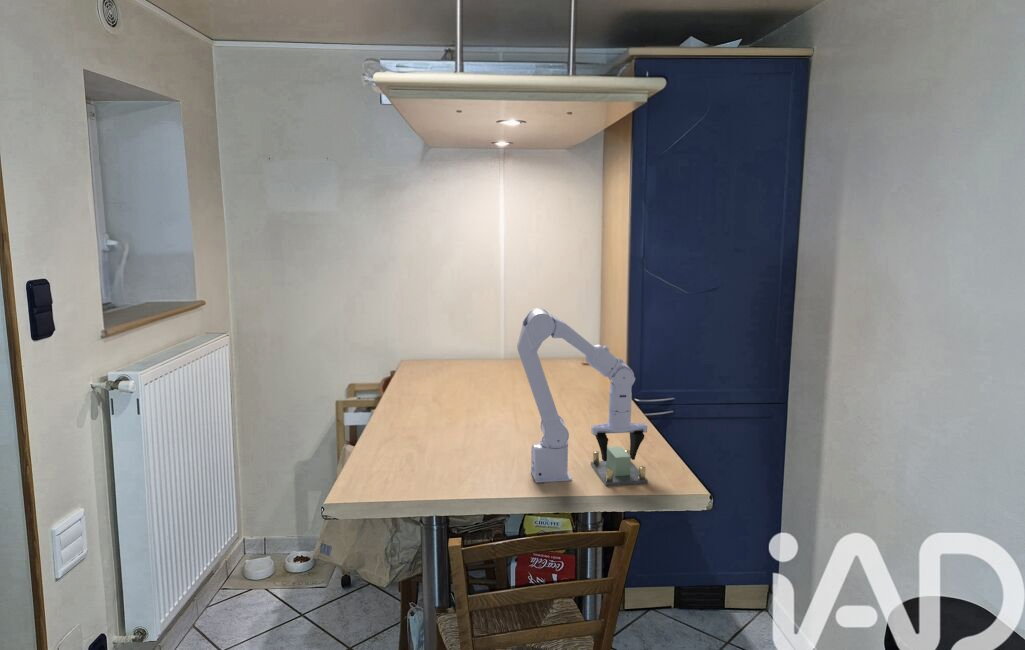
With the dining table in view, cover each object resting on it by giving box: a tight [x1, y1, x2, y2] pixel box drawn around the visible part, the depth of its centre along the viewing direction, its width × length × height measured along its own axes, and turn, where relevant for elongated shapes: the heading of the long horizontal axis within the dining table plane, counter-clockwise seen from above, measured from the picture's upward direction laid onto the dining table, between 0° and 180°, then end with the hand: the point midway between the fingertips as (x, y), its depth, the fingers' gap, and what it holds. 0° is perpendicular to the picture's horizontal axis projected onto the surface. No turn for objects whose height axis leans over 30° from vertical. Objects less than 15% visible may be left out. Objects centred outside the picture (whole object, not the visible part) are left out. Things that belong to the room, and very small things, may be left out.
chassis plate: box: [590, 448, 649, 487], centre depth 183 cm, size 11×15×4 cm
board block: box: [606, 445, 632, 476], centre depth 183 cm, size 4×8×5 cm, turn 9°
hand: (618, 459), depth 183 cm, fingers open, 7 cm apart
